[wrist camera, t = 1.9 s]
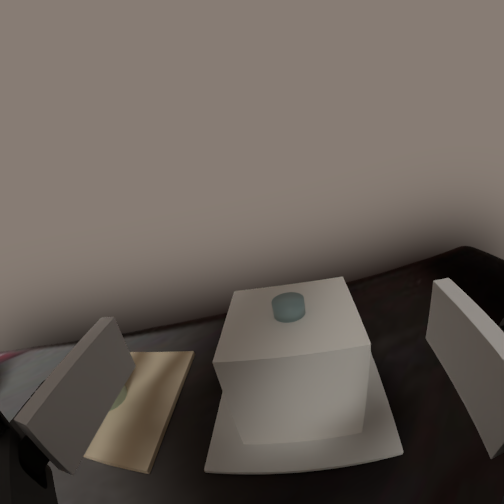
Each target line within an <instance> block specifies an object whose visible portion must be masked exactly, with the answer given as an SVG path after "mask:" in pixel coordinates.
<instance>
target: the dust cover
mask: <svg viewBox="0 0 504 504" xmlns="http://www.w3.org/2000/svg"><path fill="white" fill-rule="evenodd" d="M370 351H371V343H370V341H369V338H368V336H367V333H366V330H365V328H364V326H363V323H362V321H361V318H360V316H359V313H358V311H357V309H356V306H355V304H354V301H353V299H352V297H351V294H350V292H349V290H348V287H347V285H346V283H345V281H344V279H343V277H337V278H330V279H324V280H317V281H310V282H302V283H296V284H288V285H280V286H273V287H265V288H257V289H249V290H241V291H234V294H233V297H232V300H231V304H230V307H229V310H228V313H227V317H226V320H225V323H224V326H223V330H222V333H221V336H220V339H219V343H218V346H217V349H216V352H215V356H214V359H213V362H212V363H213V365H214V368H215V371H216V374H217V377H218V380H219V382H220V385H221V388H222V390H223V393H224V396H225V399H226V401H227V404H228V406H229V409H230V412H231V414H232V417H233V419H234V422H235V424H236V427H237V429H238V432H239V434H240V437H241V439H242V442H243V444H273V443H289V442H300V441H310V440H319V439H327V438H334V437H340V436H346V435H352V434H358V433H362V429H363V422H364V415H365V407H366V398H367V389H368V378H369V366H370Z"/></svg>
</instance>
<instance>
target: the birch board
mask: <svg viewBox="0 0 504 504" xmlns="http://www.w3.org/2000/svg"><path fill="white" fill-rule="evenodd" d="M130 354H131V356H132V358H133V361H134V363H135V365H136V367H135V368H134V370H133V372H132V373H131V375H130V377H129V378H128V380H127V382H126V383H125V386H126V388H127V396H126V398H125V400H124V401H123V402H122V404H121V405H119V406H118V407H117V408H115V409H113V410H111V411H109V412H108V414H107V416H106V417H105V419H104V421H103V423H102V424H101V426H100V428H99V429H98V431H97V433H96V435H95V437H94V438H93V440H92V442H91V444H90V445H89V447H88V449H87V451H86V453H85V454H84V456H83V457H85V458H88V459H91V460H94V461H98V462H101V463H104V464H108V465H112V466H115V467H119V468H123V469H127V470H132V471H136V472H141V473H146V474H150V472H151V470H152V467H153V464H154V461H155V459H156V456H157V453H158V451H159V448H160V445H161V443H162V440H163V437H164V435H165V432H166V429H167V427H168V424H169V421H170V419H171V416H172V413H173V411H174V408H175V406H176V403H177V400H178V398H179V395H180V392H181V390H182V387H183V385H184V382H185V379H186V377H187V374H188V372H189V369H190V367H191V364H192V361H193V359H194V356H195V353H194V351H185V352H130Z"/></svg>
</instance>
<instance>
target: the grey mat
mask: <svg viewBox="0 0 504 504" xmlns="http://www.w3.org/2000/svg"><path fill="white" fill-rule="evenodd" d="M402 454H403V449H402V445H401V442H400V438H399V435H398V432H397V428H396V425H395V422H394V418H393V415H392V412H391V409H390V406H389V403H388V400H387V397H386V394H385V391H384V388H383V385H382V382H381V379H380V376H379V373H378V371H377V368H376V365H375V362H374V359H373V357H372V354H371V351H370V366H369V378H368V389H367V398H366V407H365V415H364V422H363V429H362V433H358V434H352V435H346V436H340V437H334V438H327V439H319V440H310V441H300V442H289V443H273V444H243V442H242V439H241V437H240V434H239V432H238V429H237V427H236V424H235V422H234V419H233V417H232V414H231V412H230V409H229V406H228V404H227V401H226V399H225V396H224V393H223V392H222V396H221V400H220V405H219V409H218V413H217V417H216V422H215V426H214V430H213V434H212V438H211V443H210V447H209V451H208V455H207V460H206V464H205V468H204V471H205V473H219V474H285V473H299V472H310V471H319V470H327V469H335V468H341V467H347V466H353V465H359V464H364V463H369V462H373V461H378V460H382V459H386V458H390V457H394V456H398V455H402Z"/></svg>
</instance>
